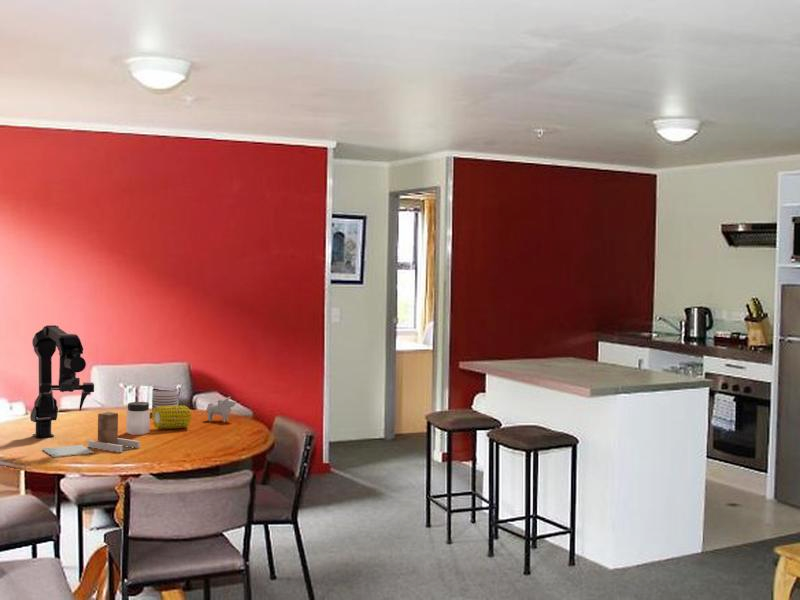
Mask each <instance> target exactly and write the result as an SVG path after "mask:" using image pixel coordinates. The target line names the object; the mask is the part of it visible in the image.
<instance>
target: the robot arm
mask: <svg viewBox="0 0 800 600" xmlns="http://www.w3.org/2000/svg"><path fill="white" fill-rule="evenodd" d="M59 327H60V326H59V325H46V326H43V328H42V329H41V330H39V331H37V332H36V333H35V334H34V336H33V338H32V347H33V352H34V353H35V354H36V356H37V357H38V396H37V397H36V398H35V400H34V404H33V405H34V406H33V407H32V410H31V413H30V415H29V417H30V421H31V422H33V423H35V433H32V437H34V438H36V439H41V438H52V437H55V435H54V434H53V433H52V421H57V419H58V413H59V408H58V404H57V403H58V400H57V399H56V398H55V397H54V392H53V391H59V392H60V393H64V392H69V393H73V392H74V391H81V396H80V401H79V412H80V411H82V408H83V404H84V402H85V400H86V398H87V396H88V395H91V393H94V392H95V383H94V382H82V384H80V379H81V378H80V377H77V373H80V372H81V373H82V371H84V370H85V369H86V366H87V363H86V360H85V358H84V357H82V355H83V354H84V347H83V344H82V342H81V339H80V337H79V336H78V334H75V333H67V332H65V331H64V330H63V329H61V328H59ZM57 350H58V355H59V363H58V365H59V366H58V367H59V373H58V384H53V383H52V381H53V375H52V374H53V373H52V371H53V370H52V358H53V355H54V354H55V352H56V351H57Z"/></svg>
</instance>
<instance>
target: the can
mask: <svg viewBox="0 0 800 600" xmlns="http://www.w3.org/2000/svg"><path fill="white" fill-rule="evenodd" d="M151 391H152V394H151V395H152V396H151V397H152V398H151V402H152V403H151V412H152V411H153V409H154V408H155V407H156V406H172V405H173V406H175V405H176V406H179V405H178V403H179V402H178V401H179V400H178V399H179V398H178V396H179V389H178V387H176V386H175V387H174V386H171V385H153V386H152V390H151Z"/></svg>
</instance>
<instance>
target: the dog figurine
mask: <svg viewBox="0 0 800 600" xmlns="http://www.w3.org/2000/svg"><path fill="white" fill-rule="evenodd" d="M236 404H237V401H236V400H235V401H234V400H233V399H231V396H228V397H226V398H224V400H222V399H218V400H217V404H215V403H212V402H209V403H208V404H207V407H206V412H207V414H206V416H207V421H208V422H212V421H213V420H214V416H215V415H220V416H221V417H222V422H223V423H226V422H227V421H229V419H228V415H229V414H230V413H231V411H232V408H233V407H235V406H236Z"/></svg>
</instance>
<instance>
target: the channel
mask: <svg viewBox="0 0 800 600" xmlns="http://www.w3.org/2000/svg"><path fill="white" fill-rule="evenodd" d="M122 445H123V446H122ZM126 446H128V447H126ZM140 446H141V441H140V440H135V439H134V440H133V439H127V438H119V437H118V444H117V445H116V444H110V443H104V442H98V440H97V441H96V440H92V439H91V440H87V448H88V447H91V448H90V449H94V448H98V449H97V450H100V449H103V450H102V451H106V450H109V451H108V452H113V451H116V452H115V453H119V452H121V453H123V451H124V452H127V451H126V450H128V451H131V450H130V449H132V450H135V449H141V448H140ZM132 447H135V449H134V448H132Z"/></svg>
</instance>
